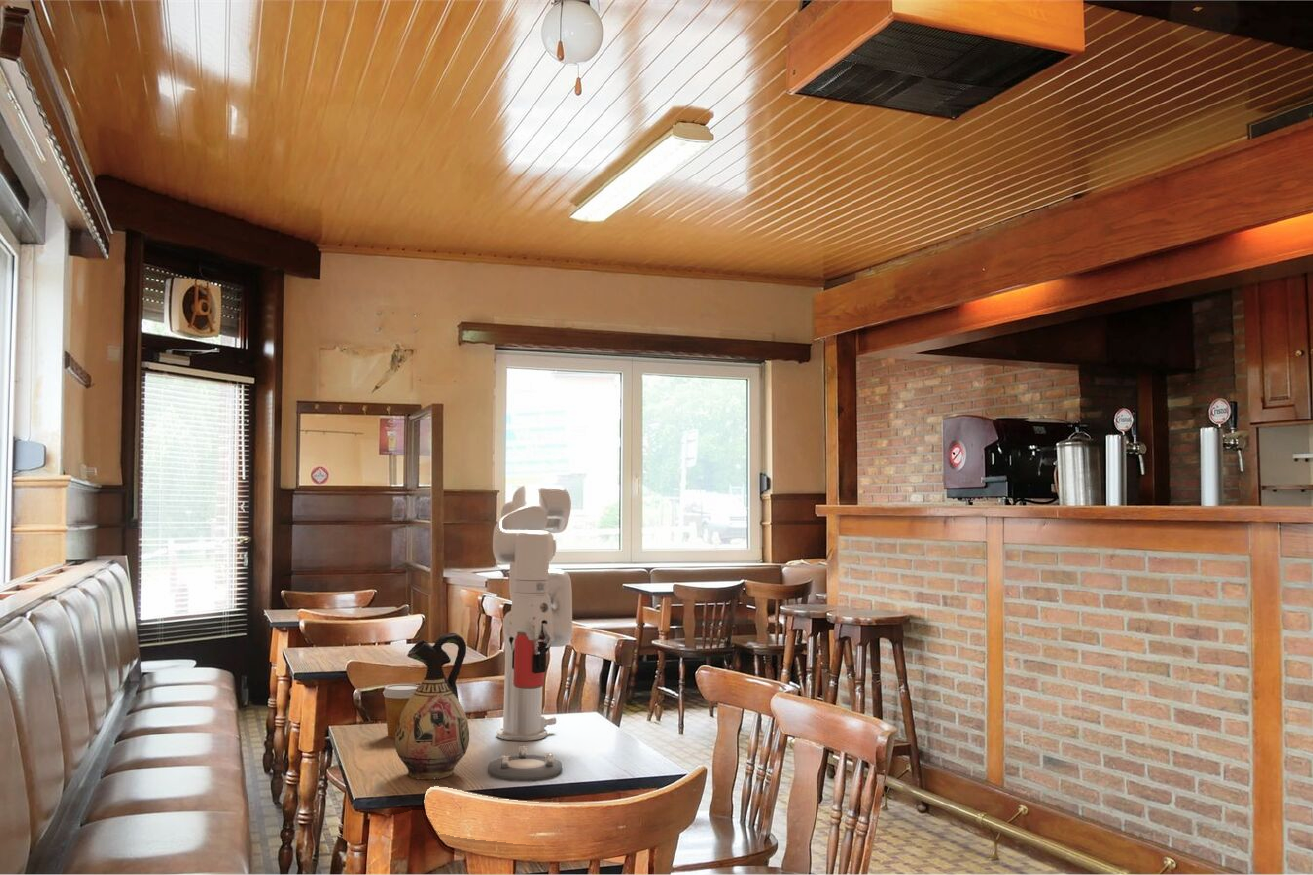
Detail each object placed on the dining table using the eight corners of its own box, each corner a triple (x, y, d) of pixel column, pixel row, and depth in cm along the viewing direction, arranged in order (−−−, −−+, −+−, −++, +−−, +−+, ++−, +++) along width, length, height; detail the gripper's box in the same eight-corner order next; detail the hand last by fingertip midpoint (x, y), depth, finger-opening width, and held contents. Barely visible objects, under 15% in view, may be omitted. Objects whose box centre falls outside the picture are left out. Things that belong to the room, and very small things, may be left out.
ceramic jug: (400, 787, 208) (406, 637, 210) (388, 769, 222) (393, 629, 225) (483, 780, 215) (487, 635, 217) (466, 763, 229) (470, 627, 231)
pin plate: (532, 758, 234) (532, 751, 235) (577, 772, 223) (577, 764, 223) (473, 769, 223) (473, 762, 223) (517, 784, 212) (517, 776, 212)
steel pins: (522, 756, 230) (523, 745, 230) (554, 766, 222) (554, 754, 222) (485, 763, 223) (486, 751, 223) (517, 773, 215) (517, 761, 215)
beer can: (548, 685, 227) (549, 630, 228) (535, 690, 220) (537, 633, 221) (521, 683, 229) (523, 629, 230) (507, 687, 223) (509, 632, 224)
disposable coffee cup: (428, 735, 257) (430, 686, 258) (400, 741, 249) (402, 691, 250) (401, 730, 262) (403, 682, 263) (372, 736, 254) (374, 687, 255)
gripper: (569, 590, 223) (567, 673, 221) (520, 585, 235) (518, 664, 234) (542, 591, 217) (539, 677, 216) (493, 586, 230) (491, 667, 228)
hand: (528, 669), depth 225 cm, fingers closed on beer can, 6 cm apart
